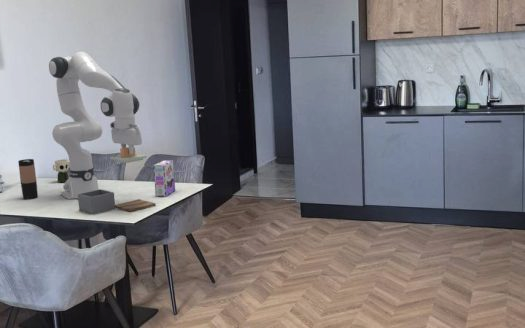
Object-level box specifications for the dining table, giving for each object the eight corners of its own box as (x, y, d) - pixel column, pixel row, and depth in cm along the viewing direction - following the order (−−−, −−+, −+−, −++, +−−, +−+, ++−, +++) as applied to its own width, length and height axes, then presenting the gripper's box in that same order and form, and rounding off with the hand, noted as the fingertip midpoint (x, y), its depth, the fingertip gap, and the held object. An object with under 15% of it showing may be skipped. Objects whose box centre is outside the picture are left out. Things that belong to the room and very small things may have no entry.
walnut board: (114, 207, 270) (113, 205, 270) (139, 201, 280) (139, 199, 279) (130, 212, 260) (129, 209, 260) (155, 205, 270) (155, 203, 270)
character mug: (57, 184, 329) (55, 162, 327) (51, 183, 334) (49, 161, 332) (75, 181, 337) (72, 159, 335) (69, 179, 342) (66, 158, 339)
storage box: (79, 210, 267) (77, 194, 266) (102, 205, 276) (100, 189, 274) (92, 214, 259) (90, 197, 257) (115, 209, 267) (113, 192, 266)
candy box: (166, 197, 287) (163, 164, 284) (155, 196, 288) (152, 164, 285) (175, 190, 300) (173, 159, 297) (165, 190, 301) (162, 160, 298)
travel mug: (25, 196, 301) (20, 159, 298) (40, 195, 302) (35, 158, 298) (20, 200, 294) (15, 162, 290) (35, 199, 295) (31, 161, 291)
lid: (110, 161, 266) (109, 148, 264) (132, 157, 274) (131, 145, 273) (124, 163, 257) (123, 150, 256) (146, 159, 265) (145, 147, 264)
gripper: (143, 124, 257) (146, 154, 260) (119, 122, 272) (122, 151, 274) (131, 125, 253) (134, 156, 255) (108, 123, 267) (110, 153, 270)
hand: (128, 153), depth 265 cm, fingers closed on lid, 3 cm apart
